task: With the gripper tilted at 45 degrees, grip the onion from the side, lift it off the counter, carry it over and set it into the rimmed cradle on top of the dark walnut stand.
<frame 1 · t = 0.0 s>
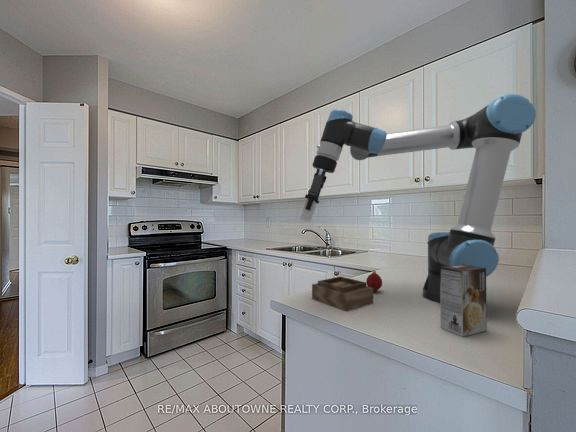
hand: (305, 220, 91), 28 cm above the counter, tool tilted 20°, fingers open, 13 cm apart
coffee box: (463, 330, 71), on the counter
onion: (374, 292, 105), on the counter
stand: (341, 300, 95), on the counter
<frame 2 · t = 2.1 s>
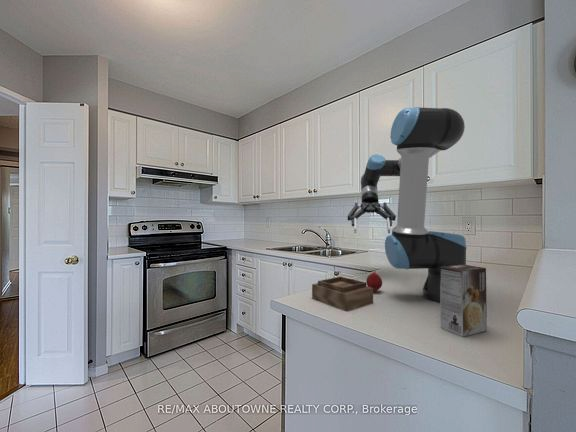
hand: (372, 231, 116), 23 cm above the counter, tool tilted 45°, fingers open, 13 cm apart
nothing on the counter moved.
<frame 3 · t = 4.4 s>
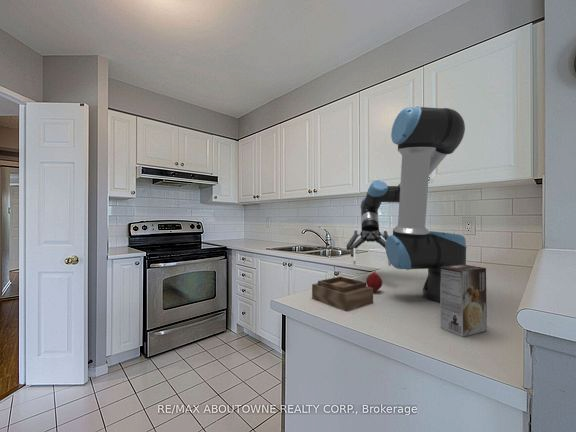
hand: (371, 263, 111), 10 cm above the counter, tool tilted 45°, fingers open, 13 cm apart
nothing on the counter moved.
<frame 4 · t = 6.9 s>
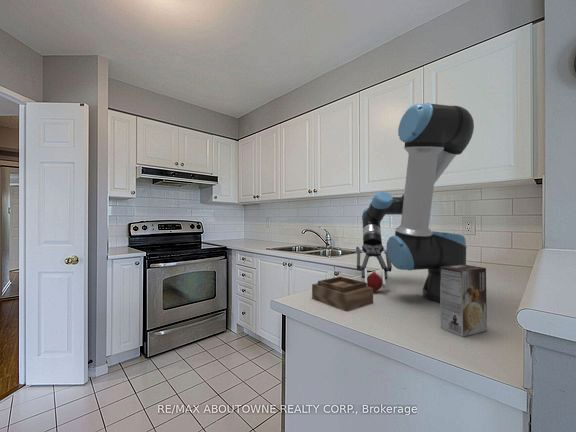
hand: (375, 285, 102), 3 cm above the counter, tool tilted 45°, fingers closed on onion, 6 cm apart
onion: (374, 292, 105), on the counter, touching gripper
everything else where it was.
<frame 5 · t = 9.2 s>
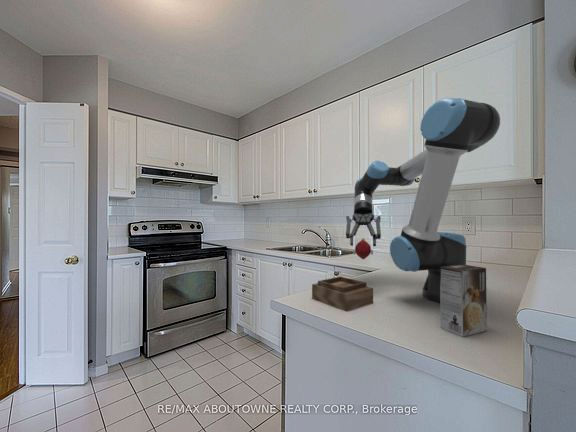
hand: (362, 252, 101), 16 cm above the counter, tool tilted 45°, fingers closed on onion, 6 cm apart
onion: (363, 259, 105), point 12 cm above the counter, touching gripper
everything else where it was.
when the fingers open (10 cm above the counter, at t = 11.8 s): onion drops 2 cm, resting on stand.
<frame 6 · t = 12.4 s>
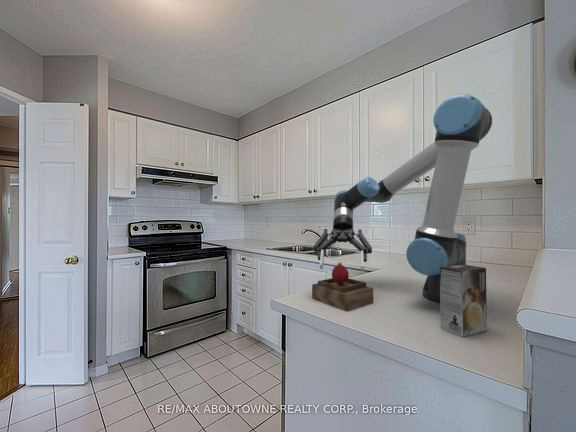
hand: (341, 268, 92), 12 cm above the counter, tool tilted 45°, fingers open, 13 cm apart
onion: (340, 286, 95), point 5 cm above the counter, touching stand
everything else where it was.
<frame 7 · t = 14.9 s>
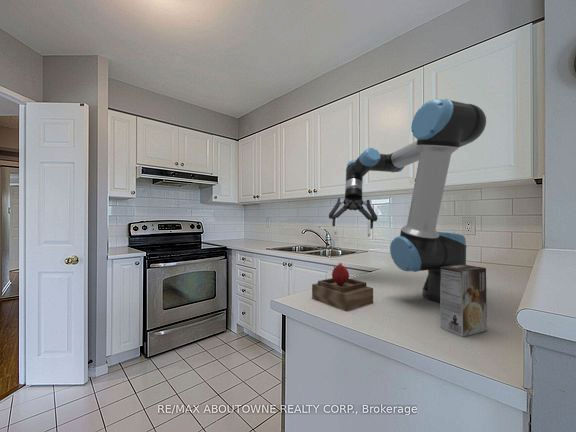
hand: (352, 234, 114), 21 cm above the counter, tool tilted 30°, fingers open, 13 cm apart
nothing on the counter moved.
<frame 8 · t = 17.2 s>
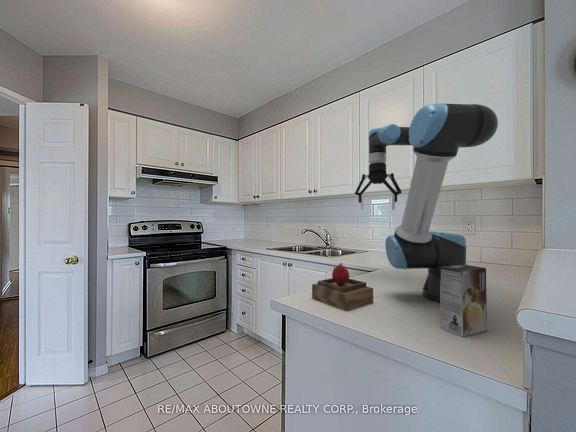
hand: (377, 209, 126), 32 cm above the counter, tool pointing down, fingers open, 13 cm apart
nothing on the counter moved.
at the end: onion inside the target area on the stand (0.4 cm from its centre), point 4.8 cm above the stand's base; the gripper is holding nothing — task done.
